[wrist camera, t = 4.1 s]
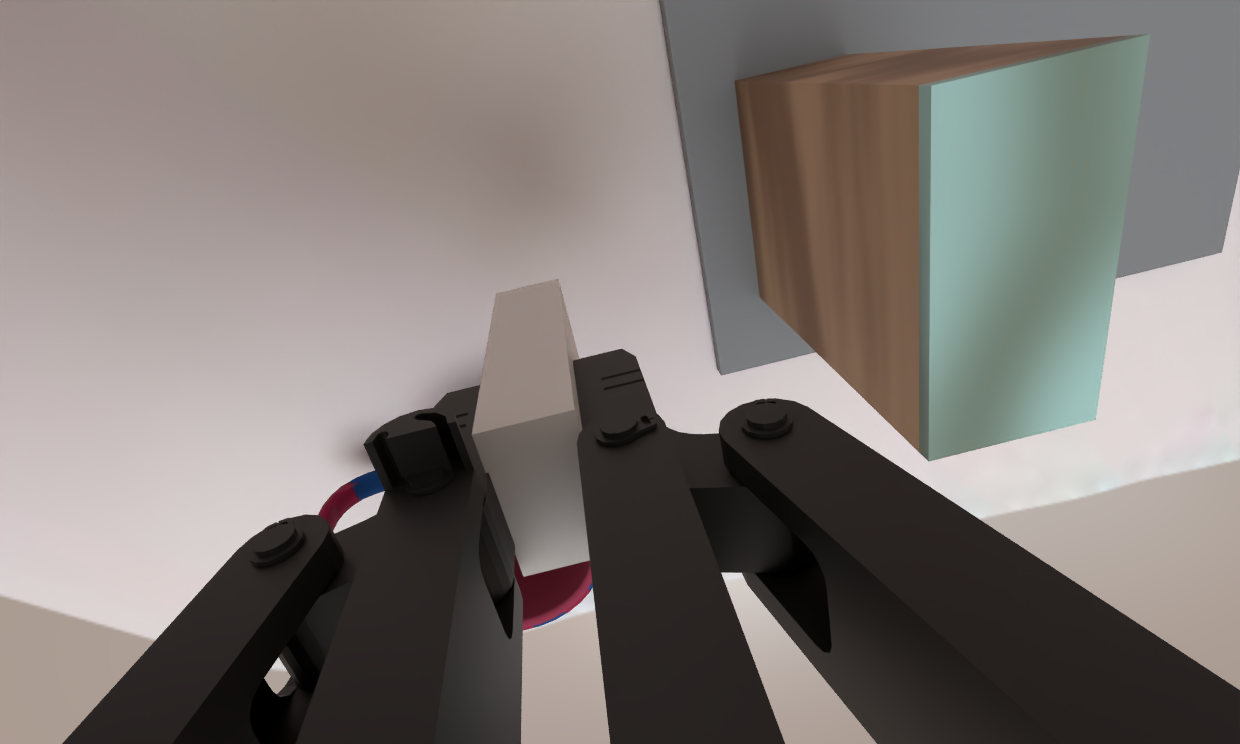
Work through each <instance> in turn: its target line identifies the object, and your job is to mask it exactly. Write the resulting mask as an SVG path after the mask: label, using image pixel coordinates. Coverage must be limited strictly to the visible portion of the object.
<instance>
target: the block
mask: <svg viewBox="0 0 1240 744" xmlns="http://www.w3.org/2000/svg"><path fill="white" fill-rule="evenodd" d="M1149 39H1150V34H1143V35H1129V36H1114V37H1099V38H1084V39H1069V40H1055V41H1040V42H1025V43H1010V44H995V45H981V46H966V47H951V48H936V49H921V50H907V51H892V52H877V53H862V54H847V55H843V56H838V57H834V58H830V59H826V60H821V61H817V62H813V63H808V64H804V65H800V66H796V67H791V68H787V69H783V70H779V71H774V72H770V73H766V74H762V75H757V76H753V77H749V78H745V79H740V80H736V81H734V82H735V90H736V99H737V107H738V116H739V124H740V133H741V141H742V150H743V158H744V167H745V175H746V184H747V193H748V201H749V210H750V218H751V227H752V235H753V244H754V252H755V261H756V269H757V278H758V286H759V295H760V298H761V299H762V300H763V301H764V302H765V303H766V304H767V305H768V306H769V307H770V308H771V309H772V310H773V311H774V312H775V313H776V314H777V315H778V316H779V317H781V318H782V319H783V320H784V321H785V322H786V323H787V324H788V325H789V326H790V327H791V328H792V329H793V330H794V331H795V332H796V333H797V334H798V335H799V336H800V337H801V338H802V339H803V340H804V341H805V342H806V343H807V344H808V345H809V346H810V347H811V348H812V349H813V350H814V351H815V352H817V353H818V354H819V355H820V356H821V357H822V358H823V359H824V360H825V361H826V362H827V363H828V364H829V365H830V366H831V367H832V368H833V369H834V370H835V371H836V372H837V373H838V374H839V375H840V376H841V377H842V378H843V379H844V380H845V381H846V382H847V383H848V384H849V385H850V386H852V387H853V388H854V389H855V390H856V391H857V392H858V393H859V394H860V395H861V396H862V397H863V398H864V399H865V400H866V401H867V402H868V403H869V404H870V405H871V406H872V407H873V408H874V409H875V410H876V411H877V412H878V413H879V414H880V415H881V416H882V417H883V418H884V419H885V420H886V421H888V422H889V423H890V424H891V425H892V426H893V427H894V428H895V429H896V430H897V431H898V432H899V433H900V434H901V435H902V436H903V437H904V438H905V439H906V440H907V441H908V442H909V443H910V444H911V445H912V446H913V447H914V448H915V449H916V450H917V451H918V452H919V453H920V454H921V455H923V456H924V457H925V458H926V459H927V460H928V461H932V460H936V459H940V458H944V457H948V456H952V455H956V454H960V453H964V452H968V451H972V450H976V449H980V448H984V447H988V446H992V445H996V444H1000V443H1004V442H1008V441H1012V440H1016V439H1020V438H1024V437H1028V436H1032V435H1036V434H1040V433H1044V432H1048V431H1052V430H1056V429H1060V428H1064V427H1068V426H1072V425H1076V424H1080V423H1084V422H1088V421H1092V420H1096V413H1097V406H1098V399H1099V392H1100V385H1101V378H1102V371H1103V364H1104V357H1105V350H1106V343H1107V336H1108V329H1109V322H1110V315H1111V307H1112V300H1113V293H1114V286H1115V279H1116V272H1117V265H1118V258H1119V251H1120V244H1121V237H1122V230H1123V223H1124V216H1125V209H1126V201H1127V194H1128V187H1129V180H1130V173H1131V166H1132V159H1133V152H1134V145H1135V138H1136V131H1137V124H1138V117H1139V110H1140V102H1141V95H1142V88H1143V81H1144V74H1145V67H1146V60H1147V53H1148V46H1149Z"/></svg>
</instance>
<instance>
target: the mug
mask: <svg viewBox="0 0 1240 744" xmlns="http://www.w3.org/2000/svg"><path fill="white" fill-rule="evenodd" d="M383 491H385V490H384V488H383V486H382V484H381V482H380V479H379V477H378V475H377V473H376V471H372V472H369V473H367V474H364V475H362V476H360V477H357V478H355V479H353V480H352V481H350V482H348V483H346V484H345V485H343V486H341V487H340V488H339V489H338V490H337V491H336V492H334V493H333V494H332V495H331V496H330V497H329V499H328V500H327V501H326V502H325V504H324V505H323V506H322V508H321V510H320V512H319V514H318V515H319V516H321V517H322V518H324V519H326V520H327V521H328V523H329V525H330V527H331V529H332V530H334V528H335V526H336V524H337V522H338V521H339V519H340V518H341V517H342V515H343V514H344V513H345V512H346V511H347V510H348V509H349V508H350V507H352V506H353V505H355V504H356V503H358V502H359V501H361V500H362V499H364V498H367V497H369V496H372V495H374V494H377V493H380V492H383ZM514 575H515V578H516V580H517V583H518V586H519V588H520V591H521V595H522V599H523V630H527V629H531V628H534V627H538V626H542V625H544V624H546V623H549V622H551V621H554V620H556V619H558V618H559V617H561V616H563V615H564V614H566V613H568V612H569V611H570V610H572V609H573V608H574V607H575V606H577V605H578V604H579V603H580V602H581V601H582V600H583V599H584V598H585V597H586V596H587V594H588V593H589V592H590V591H591V589H592V588H593V584H592V575H591V566H590V560H589V561H585V562H581V563H577V564H573V565H569V566H565V567H561V568H557V569H553V570H549V571H545V572H541V573H537V574H533V575H529V576H525V577H523V574H522V571H521V569H520V566H519V563H518V560H517V558H516V555H515V564H514Z"/></svg>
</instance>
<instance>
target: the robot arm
mask: <svg viewBox="0 0 1240 744" xmlns="http://www.w3.org/2000/svg"><path fill="white" fill-rule="evenodd" d="M364 446H365V449H366V451H367V453H368V455H369V457H370V460H371V462H372V464H373V466H374V468H375V471H376V473H377V475H378V477H379V479H380V482H381V484H382V486H383V488H384V490H385V493H384V496H383V498H382V501H381V504H380V507H379V510H378V513H377V515H375V516H373V517H371V518H369V519H367V520H365V521H363V522H360V523H358V524H356V525H354V526H351V527H349V528H347V529H344V530H342V531H340V532H338V533H335V534H334V532H333V530H332V529H331V527H330V525H329V523H328V521H327V520H326V519H324V518H322V517H321V516H319V515H302V516H297V517H293V518H287V519H284V520H281V521H279V523H277V522H276V523H274V524H272V525H269V526H268V527H266V528H265V529H264V530H263V531H261V532H260V533H258V534H257V535H255V536H253V537H252V538H251V539H249V540H248V541H247V542H246V543H245V544H244V545H243V546H242V547H240V548H239V549H238V550H237V551H236V552H235V553H234V554H233V555H232V557H231V558H230V559H229V560H228V561H227V562H226V563H225V564H224V565H223V567H222V568H221V569H220V570H219V571H218V572H217V573H216V574H215V575H214V576H213V578H212V579H211V580H210V581H209V582H208V583H207V584H206V585H205V586H204V588H203V589H202V590H201V591H200V592H199V593H198V594H197V595H196V596H195V598H194V599H193V600H192V601H191V602H190V603H189V604H188V605H187V606H186V607H185V609H184V610H183V611H182V612H181V613H180V614H179V615H178V616H177V617H176V619H175V620H174V621H173V622H172V623H171V624H170V625H169V626H168V627H167V628H166V630H165V631H164V632H163V633H162V634H161V635H160V636H159V637H158V638H157V640H156V641H155V642H154V643H153V644H152V645H151V646H150V647H149V648H148V650H147V651H146V652H145V653H144V654H143V655H142V656H141V657H140V659H138V661H137V662H136V663H135V664H134V665H133V666H132V667H131V668H130V669H129V671H128V672H127V673H126V674H125V675H124V676H123V677H122V678H121V679H120V681H119V682H118V683H117V684H116V685H115V686H114V687H113V688H112V689H111V690H110V692H109V693H108V694H107V695H106V696H105V697H104V698H103V699H102V700H101V701H100V703H99V704H98V705H97V706H96V707H95V708H94V709H93V710H92V712H91V713H90V714H89V715H88V716H87V717H86V718H85V719H84V721H82V722H81V724H80V725H79V726H78V727H77V728H76V729H75V730H74V731H73V732H72V734H71V735H70V736H69V737H68V738H67V739H66V740H65V741H64V742H63V744H521V696H522V695H521V693H522V634H523V599H522V595H521V591H520V588H519V586H518V583H517V580H516V578H515V575H514V564H515V555H516V558H517V560H518V563H519V566H520V569H521V571H522V574H523V577H525V576H529V575H533V574H537V573H541V572H545V571H549V570H553V569H557V568H561V567H565V566H569V565H573V564H577V563H581V562H585V561H589V560H590V566H591V575H592V584H593V593H594V602H595V611H596V619H597V628H598V637H599V646H600V655H601V664H602V673H603V681H604V690H605V699H606V708H607V717H608V725H609V735H610V744H785V742H784V740H783V737H782V734H781V732H780V729H779V726H778V724H777V721H776V719H775V716H774V713H773V710H772V708H771V705H770V702H769V700H768V697H767V694H766V692H765V689H764V686H763V684H762V681H761V678H760V676H759V673H758V670H757V668H756V665H755V662H754V660H753V657H752V654H751V652H750V649H749V646H748V644H747V641H746V638H745V635H744V633H743V631H742V628H741V625H740V622H739V619H738V617H737V614H736V611H735V609H734V606H733V604H732V601H731V598H730V595H729V593H728V590H727V587H726V585H725V582H724V579H723V577H722V574H721V572H733V573H742V574H743V576H744V578H745V580H746V582H747V584H748V586H749V587H750V588H751V590H752V591H753V592H754V593H755V594H756V596H757V597H758V598H759V599H760V601H761V602H762V603H763V604H764V606H765V607H766V608H767V609H768V610H769V612H770V613H771V614H772V615H773V617H775V619H776V620H777V621H778V623H779V624H780V625H781V626H782V628H783V629H784V630H785V631H786V633H787V634H788V635H789V636H790V637H791V639H792V640H793V641H794V642H795V643H796V645H797V646H798V647H799V648H800V650H801V651H802V652H803V653H804V655H806V657H807V658H808V660H809V661H810V662H811V663H812V664H813V665H814V667H815V668H816V669H817V671H818V672H819V673H820V674H821V675H822V677H823V678H824V679H825V680H826V682H827V683H828V684H829V685H830V686H831V688H832V689H833V690H834V691H835V693H836V694H837V695H838V696H839V697H840V698H841V700H842V701H843V702H844V704H845V705H846V706H847V707H848V709H849V710H850V711H851V712H852V713H853V715H854V716H855V717H856V718H857V720H858V721H859V722H860V723H861V724H862V726H863V727H864V728H865V729H866V730H867V732H868V733H869V734H870V735H871V737H872V738H873V739H874V740H875V742H876V743H877V744H1240V690H1239V689H1237V688H1236V687H1234V686H1233V685H1231V684H1229V683H1228V682H1226V681H1225V680H1223V679H1222V678H1220V677H1219V676H1217V675H1216V674H1214V673H1212V672H1211V671H1210V670H1208V669H1206V668H1205V667H1204V666H1202V665H1200V664H1199V663H1197V662H1196V661H1194V660H1193V659H1191V658H1190V657H1188V656H1187V655H1185V654H1184V653H1182V652H1181V651H1179V650H1178V649H1176V648H1175V647H1173V646H1172V645H1170V644H1168V643H1167V642H1165V641H1164V640H1162V639H1161V638H1159V637H1158V636H1156V635H1155V634H1153V633H1152V632H1150V631H1148V630H1147V629H1146V628H1144V627H1143V626H1141V625H1139V624H1138V623H1136V622H1135V621H1133V620H1132V619H1130V618H1129V617H1127V616H1126V615H1124V614H1123V613H1121V612H1119V611H1118V610H1117V609H1115V608H1114V607H1112V606H1110V605H1109V604H1108V603H1106V602H1104V601H1103V600H1101V599H1100V598H1098V597H1097V596H1095V595H1093V594H1092V593H1091V592H1089V591H1088V590H1086V589H1085V588H1083V587H1082V586H1080V585H1079V584H1077V583H1075V582H1074V581H1072V580H1071V579H1069V578H1068V577H1066V576H1065V575H1063V574H1062V573H1060V572H1059V571H1057V570H1056V569H1054V568H1053V567H1051V566H1050V565H1048V564H1046V563H1045V562H1043V561H1042V560H1040V559H1039V558H1037V557H1036V556H1034V555H1033V554H1031V553H1030V552H1028V551H1027V550H1025V549H1024V548H1022V547H1021V546H1019V545H1018V544H1016V543H1015V542H1013V541H1011V540H1010V539H1008V538H1007V537H1005V536H1004V535H1002V534H1001V533H999V532H998V531H996V530H994V529H993V528H992V527H990V526H989V525H987V524H985V523H984V522H983V521H981V520H979V519H978V518H976V517H975V516H973V515H972V514H970V513H969V512H967V511H966V510H964V509H963V508H961V507H960V506H958V505H957V504H955V503H954V502H952V501H950V500H949V499H947V498H946V497H944V496H943V495H941V494H940V493H938V492H937V491H935V490H934V489H932V488H931V487H929V486H928V485H926V484H925V483H923V482H922V481H920V480H918V479H917V478H915V477H914V476H912V475H911V474H909V473H908V472H906V471H905V470H903V469H902V468H900V467H899V466H897V465H896V464H894V463H893V462H891V461H890V460H888V459H886V458H885V457H883V456H882V455H880V454H879V453H877V452H876V451H874V450H873V449H871V448H870V447H868V446H867V445H865V444H864V443H862V442H861V441H859V440H858V439H856V438H854V437H853V436H851V435H850V434H848V433H847V432H845V431H844V430H842V429H841V428H839V427H838V426H836V425H835V424H833V423H832V422H830V421H829V420H827V419H825V418H824V417H822V416H821V415H819V414H818V413H816V412H815V411H813V410H812V409H810V408H809V407H807V406H804V405H802V404H800V403H797V402H795V401H789V400H782V399H776V398H774V399H766V400H765V399H760V400H755V401H753V402H750V403H746V404H742V405H740V406H738V407H737V408H735V409H733V410H731V411H729V412H728V413H727V414H726V415H725V417H724V418H723V419H722V420H721V421H720V427H719V434H687V433H681V432H677V431H675V430H672V429H669V428H668V427H666V425H665V422H664V421H663V420H662V418H661V417H660V416H659V415H658V414H657V413H656V411H655V408H654V405H653V402H652V400H651V397H650V394H649V391H648V389H647V386H646V383H645V381H644V378H643V375H642V372H641V370H640V367H639V364H638V361H637V359H636V356H634V355H632V354H630V353H628V352H627V351H625V350H623V349H619V350H614V351H610V352H606V353H602V354H598V355H594V356H590V357H586V358H582V359H579V356H578V353H577V349H576V345H575V341H574V337H573V333H572V330H571V326H570V322H569V318H568V314H567V311H566V307H565V303H564V299H563V295H562V291H561V288H560V284H559V280H558V279H555V280H551V281H547V282H543V283H539V284H535V285H530V286H526V287H522V288H518V289H514V290H510V291H505V292H501V293H497V294H496V297H495V303H494V309H493V314H492V320H491V326H490V332H489V338H488V343H487V349H486V355H485V361H484V366H483V372H482V378H481V384H480V385H479V386H475V387H470V388H466V389H462V390H458V391H454V392H450V393H447V394H446V395H445V396H444V397H443V398H442V399H441V400H440V401H439V403H438V404H437V405H436V406H435V407H434V408H431V409H424V410H418V411H415V412H412V413H409V414H406V415H402V416H400V417H398V418H396V419H394V420H392V421H390V422H388V423H386V424H384V425H383V426H381V427H380V428H379V429H377V430H376V431H375V432H373V433H372V434H371V435H370V436H369V438H368V439H367V440H366V442H365V443H364ZM278 657H279V658H280V660H281V662H282V663H283V665H284V666H285V668H286V669H287V671H288V673H289V674H290V676H291V677H290V679H289V681H288V682H287V684H286V685H285V687H284V688H283V689H282V690H281V691H280V692H279V693H278V694H275V693H274V692H273V691H272V690H271V688H270V687H269V686H268V684H267V682H266V681H265V679H264V677H265V676H266V674H267V673H268V671H269V670H270V668H271V667H272V666H273V664H274V663H275V661H276V660H277V658H278Z"/></svg>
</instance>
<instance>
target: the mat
mask: <svg viewBox="0 0 1240 744" xmlns="http://www.w3.org/2000/svg"><path fill="white" fill-rule="evenodd" d="M660 5H661V11H662V18H663V24H664V31H665V37H666V43H667V50H668V56H669V63H670V69H671V75H672V82H673V88H674V95H675V101H676V107H677V114H678V120H679V126H680V133H681V139H682V146H683V152H684V158H685V165H686V171H687V178H688V184H689V190H690V197H691V203H692V210H693V216H694V222H695V229H696V235H697V241H698V248H699V254H700V261H701V267H702V273H703V280H704V286H705V293H706V299H707V305H708V312H709V318H710V324H711V331H712V337H713V344H714V350H715V356H716V363H717V369H718V371H719V373H720V374H721V375H725V374H729V373H733V372H737V371H741V370H745V369H749V368H753V367H758V366H762V365H766V364H770V363H774V362H778V361H782V360H786V359H790V358H794V357H798V356H802V355H806V354H810V353H814V352H815V351H814V350H813V349H812V348H811V347H810V346H809V345H808V344H807V343H806V342H805V341H804V340H803V339H802V338H801V337H800V336H799V335H798V334H797V333H796V332H795V331H794V330H793V329H792V328H791V327H790V326H789V325H788V324H787V323H786V322H785V321H784V320H783V319H782V318H781V317H779V316H778V315H777V314H776V313H775V312H774V311H773V310H772V309H771V308H770V307H769V306H768V305H767V304H766V303H765V302H764V301H763V300H762V299H761V298H760V295H759V286H758V278H757V269H756V261H755V252H754V244H753V235H752V227H751V218H750V210H749V201H748V193H747V184H746V175H745V167H744V158H743V150H742V141H741V133H740V124H739V116H738V107H737V99H736V90H735V82H734V81H736V80H740V79H745V78H749V77H753V76H757V75H762V74H766V73H770V72H774V71H779V70H783V69H787V68H791V67H796V66H800V65H804V64H808V63H813V62H817V61H821V60H826V59H830V58H834V57H838V56H843V55H847V54H862V53H877V52H892V51H907V50H921V49H936V48H951V47H966V46H981V45H995V44H1010V43H1025V42H1040V41H1055V40H1069V39H1084V38H1099V37H1114V36H1129V35H1143V34H1150V39H1149V46H1148V53H1147V60H1146V67H1145V74H1144V81H1143V88H1142V95H1141V102H1140V110H1139V117H1138V124H1137V131H1136V138H1135V145H1134V152H1133V159H1132V166H1131V173H1130V180H1129V187H1128V194H1127V201H1126V209H1125V216H1124V223H1123V230H1122V237H1121V244H1120V251H1119V258H1118V265H1117V272H1116V278H1120V277H1124V276H1128V275H1132V274H1136V273H1140V272H1144V271H1148V270H1152V269H1156V268H1160V267H1164V266H1169V265H1173V264H1177V263H1181V262H1185V261H1189V260H1193V259H1197V258H1201V257H1205V256H1209V255H1213V254H1217V253H1221V252H1222V249H1223V244H1224V240H1225V235H1226V230H1227V226H1228V221H1229V216H1230V212H1231V207H1232V202H1233V198H1234V193H1235V188H1236V184H1237V179H1238V174H1239V170H1240V0H660Z"/></svg>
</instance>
